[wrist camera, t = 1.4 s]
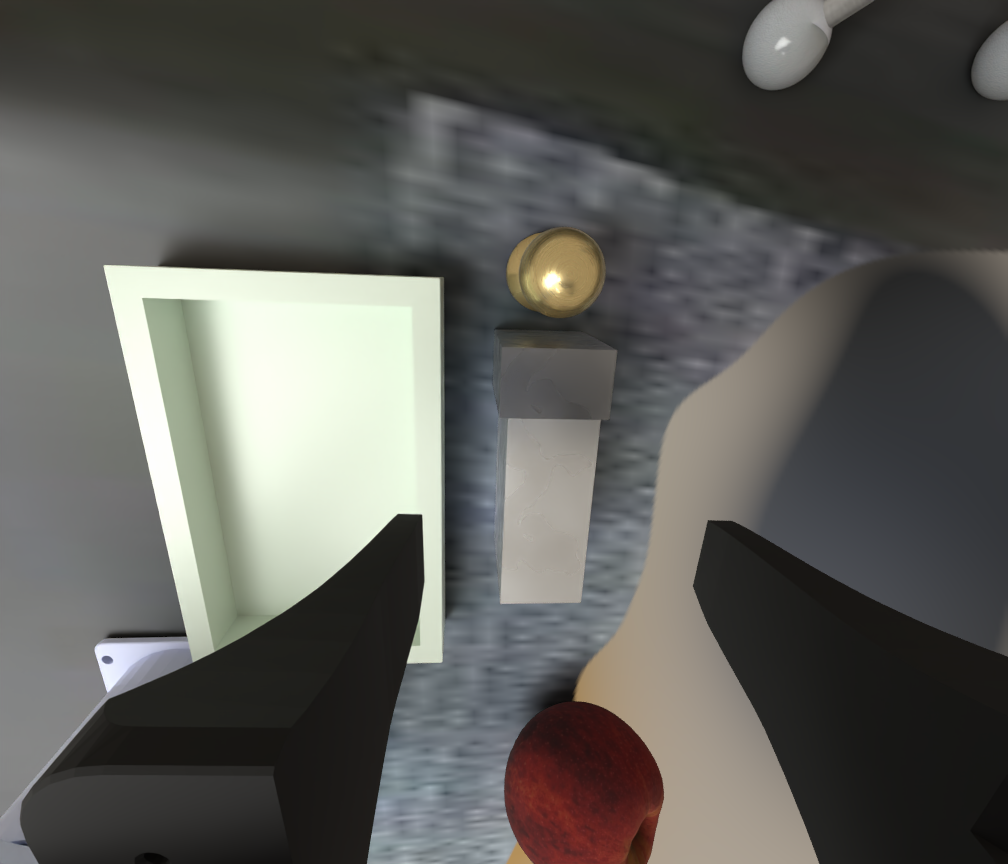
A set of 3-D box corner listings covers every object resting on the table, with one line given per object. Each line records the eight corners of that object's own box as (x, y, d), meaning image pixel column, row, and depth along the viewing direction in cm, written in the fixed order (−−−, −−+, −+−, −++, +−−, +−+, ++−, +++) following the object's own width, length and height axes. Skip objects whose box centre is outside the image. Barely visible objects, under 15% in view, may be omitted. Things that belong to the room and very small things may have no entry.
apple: (621, 765, 29) (675, 939, 21) (496, 768, 28) (505, 949, 21) (639, 671, 27) (708, 830, 19) (503, 672, 26) (518, 838, 18)
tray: (445, 620, 24) (442, 662, 22) (225, 624, 23) (194, 669, 21) (444, 277, 19) (439, 278, 16) (156, 266, 18) (103, 265, 15)
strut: (564, 535, 23) (588, 602, 19) (487, 535, 23) (492, 604, 18) (582, 331, 20) (617, 350, 15) (494, 328, 20) (501, 347, 15)
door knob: (575, 312, 20) (614, 327, 14) (504, 309, 19) (517, 324, 14) (581, 235, 19) (626, 221, 13) (507, 231, 18) (522, 216, 13)
